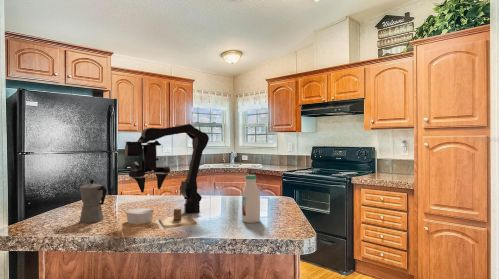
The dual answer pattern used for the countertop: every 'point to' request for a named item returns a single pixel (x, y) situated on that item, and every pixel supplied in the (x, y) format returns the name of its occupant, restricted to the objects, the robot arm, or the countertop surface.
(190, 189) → the robot arm
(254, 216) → the milk bottle
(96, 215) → the coffeepot
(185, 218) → the board
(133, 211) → the ramekin
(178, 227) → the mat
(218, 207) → the countertop surface
